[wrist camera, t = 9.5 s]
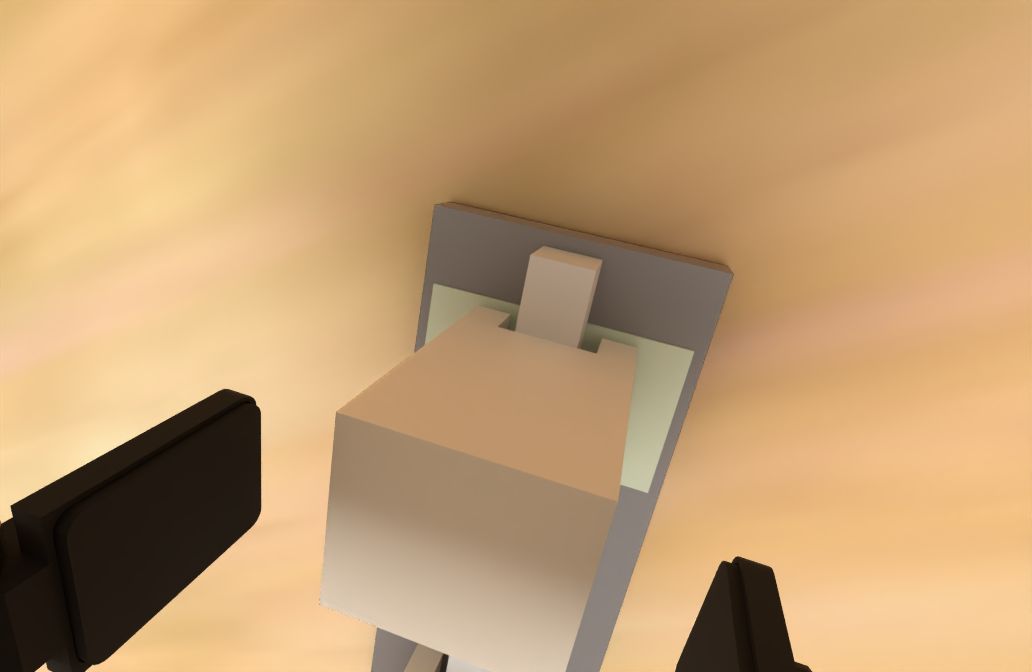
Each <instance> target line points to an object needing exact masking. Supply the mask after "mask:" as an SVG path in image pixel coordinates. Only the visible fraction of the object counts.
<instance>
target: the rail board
mask: <svg viewBox="0 0 1032 672" xmlns="http://www.w3.org/2000/svg"><path fill="white" fill-rule="evenodd" d="M732 277H733V273H732V271H731V270H730V268H729V267H728V266H726V265H721V264H717V263H713V262H708V261H704V260H700V259H695V258H691V257H687V256H682V255H678V254H674V253H669V252H665V251H661V250H656V249H652V248H648V247H643V246H639V245H635V244H630V243H626V242H622V241H617V240H613V239H609V238H604V237H600V236H596V235H591V234H587V233H583V232H578V231H574V230H570V229H565V228H561V227H557V226H552V225H548V224H544V223H539V222H535V221H531V220H527V219H522V218H518V217H514V216H509V215H505V214H501V213H496V212H492V211H488V210H483V209H479V208H475V207H470V206H466V205H462V204H457V203H453V202H447V203H441V204H435V205H434V212H433V220H432V227H431V235H430V242H429V249H428V257H427V264H426V271H425V279H424V286H423V293H422V301H421V308H420V315H419V323H418V330H417V338H416V345H415V352H416V351H418V350H419V349H420V348H422V347H423V346H424V345H426V344H427V343H428V342H430V341H431V340H432V339H434V338H435V337H436V336H438V335H439V334H440V333H441V332H443V331H444V330H445V329H447V328H448V327H449V326H451V325H452V324H453V323H455V322H456V321H457V320H459V319H460V318H461V317H463V316H464V315H465V314H467V313H468V312H469V311H471V310H472V309H473V308H475V307H476V306H477V305H479V306H483V307H486V308H490V309H494V310H498V311H502V312H505V313H509V314H510V319H509V325H508V330H511V331H515V332H519V333H522V334H526V335H530V336H534V337H537V338H541V339H545V340H548V341H552V342H556V343H559V344H563V345H567V346H570V347H574V348H578V349H581V350H585V351H589V352H593V353H596V354H597V351H598V349H599V346H600V343H601V340H602V338H603V339H607V340H611V341H614V342H618V343H622V344H626V345H629V346H633V347H637V348H638V350H637V358H636V366H635V374H634V382H633V389H632V397H631V405H630V413H629V421H628V428H627V436H626V444H625V452H624V459H623V467H622V475H621V483H620V491H619V498H618V504H617V507H616V510H615V513H614V516H613V520H612V523H611V526H610V529H609V533H608V536H607V539H606V542H605V545H604V549H603V552H602V555H601V558H600V562H599V565H598V568H597V571H596V575H595V578H594V581H593V584H592V587H591V591H590V594H589V597H588V600H587V604H586V607H585V610H584V613H583V616H582V620H581V623H580V626H579V629H578V633H577V636H576V639H575V642H574V646H573V649H572V652H571V655H570V658H569V662H568V665H567V668H566V671H565V672H599V671H600V668H601V665H602V662H603V659H604V656H605V653H606V650H607V647H608V644H609V641H610V638H611V635H612V632H613V629H614V626H615V624H616V621H617V618H618V615H619V612H620V609H621V606H622V603H623V600H624V597H625V594H626V591H627V588H628V585H629V582H630V579H631V576H632V573H633V570H634V567H635V564H636V561H637V558H638V555H639V553H640V550H641V547H642V544H643V541H644V538H645V535H646V532H647V529H648V526H649V523H650V520H651V517H652V514H653V511H654V508H655V505H656V502H657V499H658V496H659V493H660V490H661V487H662V484H663V482H664V479H665V476H666V473H667V470H668V467H669V464H670V461H671V458H672V455H673V452H674V449H675V446H676V443H677V440H678V437H679V434H680V431H681V428H682V425H683V422H684V419H685V416H686V413H687V411H688V408H689V405H690V402H691V399H692V396H693V393H694V390H695V387H696V384H697V381H698V378H699V375H700V372H701V369H702V366H703V363H704V360H705V357H706V354H707V351H708V348H709V345H710V342H711V340H712V337H713V334H714V331H715V328H716V325H717V322H718V319H719V316H720V313H721V310H722V307H723V304H724V301H725V298H726V295H727V292H728V289H729V286H730V283H731V280H732ZM415 352H414V353H415ZM371 672H491V671H488V670H485V669H483V668H480V667H478V666H475V665H473V664H470V663H468V662H465V661H462V660H460V659H457V658H455V657H452V656H450V655H447V654H444V653H442V652H439V651H437V650H434V649H432V648H429V647H427V646H424V645H421V644H419V643H416V642H414V641H411V640H409V639H406V638H403V637H401V636H398V635H396V634H393V633H391V632H388V631H386V630H383V629H380V628H378V627H377V632H376V639H375V647H374V654H373V661H372V669H371Z"/></svg>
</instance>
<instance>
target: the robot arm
mask: <svg viewBox="0 0 1032 672" xmlns="http://www.w3.org/2000/svg"><path fill="white" fill-rule="evenodd" d="M11 511H12V515H13V518H11V519H9V520H7V521H6V522H4V523H2V524H1V521H0V672H35V671H36V670H37V669H39V668H40V667H41V666H42V665H43V664H45V663H46V664H47V668H48V670H50V671H52V672H85V671H86V670H87V669H88V668H89V667H91V666H92V665H97V664H100V663H102V662H104V661H105V660H106V659H108V658H109V657H110V656H111V655H112V654H113V653H114V652H116V651H117V650H118V649H119V648H120V647H121V646H122V645H123V644H124V643H125V642H127V641H128V640H129V639H130V638H131V637H132V636H133V635H134V634H135V633H136V632H137V631H139V630H140V629H141V628H142V627H143V626H144V625H145V624H146V623H147V622H148V621H149V620H151V619H152V618H153V617H154V616H155V615H156V614H157V613H158V612H159V611H160V610H162V609H163V608H164V607H165V606H166V605H167V604H168V603H169V602H170V601H171V600H172V599H174V598H175V597H176V596H177V595H178V594H179V593H180V592H181V591H182V590H183V589H184V588H186V587H187V586H188V585H189V584H190V583H191V582H192V581H193V580H194V579H195V578H197V577H198V576H199V575H200V574H201V573H202V572H203V571H204V570H205V569H206V568H207V567H209V566H210V565H211V564H212V563H213V562H214V561H215V560H216V559H217V558H218V557H219V556H221V555H222V554H223V553H224V552H225V551H226V550H227V549H228V548H229V547H230V546H232V545H233V544H234V543H235V542H236V541H237V540H238V539H239V538H240V537H241V536H242V535H244V534H245V533H246V532H247V531H248V530H249V529H250V528H251V527H252V526H253V525H254V524H255V522H256V521H257V519H258V517H259V515H260V512H261V411H260V409H259V407H257V406H256V401H255V400H254V398H252V397H251V396H248V395H245V394H242V393H239V392H236V391H233V390H230V389H223V390H220V391H218V392H216V393H215V394H213V395H211V396H209V397H207V398H206V399H204V400H202V401H200V402H198V403H196V404H195V405H193V406H191V407H189V408H187V409H186V410H184V411H182V412H180V413H178V414H176V415H175V416H173V417H171V418H169V419H167V420H166V421H164V422H162V423H160V424H158V425H156V426H155V427H153V428H151V429H149V430H147V431H146V432H144V433H142V434H140V435H138V436H136V437H135V438H133V439H131V440H129V441H127V442H126V443H124V444H122V445H120V446H118V447H116V448H115V449H113V450H111V451H109V452H107V453H106V454H104V455H102V456H100V457H98V458H96V459H95V460H93V461H91V462H89V463H87V464H86V465H84V466H82V467H80V468H78V469H76V470H75V471H73V472H71V473H69V474H67V475H66V476H64V477H62V478H60V479H58V480H56V481H55V482H53V483H51V484H49V485H47V486H45V487H44V488H42V489H40V490H38V491H36V492H35V493H33V494H31V495H29V496H27V497H25V498H24V499H22V500H20V501H18V502H16V503H15V504H13V505H11ZM675 672H812V671H811V670H810V668H809V667H808V666H806V665H803V664H800V663H797V662H795V661H794V657H793V653H792V649H791V644H790V640H789V636H788V631H787V627H786V623H785V618H784V614H783V610H782V606H781V601H780V597H779V593H778V588H777V584H776V580H775V575H774V572H773V569H772V568H771V567H769V566H766V565H763V564H760V563H757V562H754V561H751V560H748V559H745V558H742V557H735V558H734V559H733V561H732V563H729V562H726V561H722V562H721V564H720V565H719V568H718V570H717V572H716V575H715V577H714V579H713V582H712V584H711V586H710V589H709V591H708V593H707V596H706V598H705V600H704V603H703V605H702V607H701V610H700V612H699V614H698V617H697V619H696V621H695V624H694V626H693V628H692V631H691V633H690V635H689V638H688V640H687V642H686V645H685V647H684V649H683V652H682V654H681V656H680V659H679V661H678V664H677V666H676V670H675Z"/></svg>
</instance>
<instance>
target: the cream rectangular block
mask: <svg viewBox="0 0 1032 672" xmlns="http://www.w3.org/2000/svg"><path fill="white" fill-rule="evenodd" d="M509 319H510V314H509V313H505V312H502V311H498V310H494V309H490V308H486V307H483V306H479V305H477V306H476V307H475V308H473V309H472V310H471V311H469V312H468V313H467V314H465V315H464V316H463V317H461V318H460V319H459V320H457V321H456V322H455V323H453V324H452V325H451V326H449V327H448V328H447V329H445V330H444V331H443V332H441V333H440V334H439V335H438V336H436V337H435V338H434V339H432V340H431V341H430V342H428V343H427V344H426V345H424V346H423V347H422V348H420V349H419V350H418V351H416V352H415V353H414V354H412V355H411V356H410V357H408V358H407V359H406V360H404V361H403V362H402V363H400V364H399V365H398V366H396V367H395V368H394V369H392V370H391V371H390V372H388V373H387V374H386V375H384V376H383V377H382V378H380V379H379V380H378V381H377V382H375V383H374V384H373V385H371V386H370V387H369V388H367V389H366V390H365V391H363V392H362V393H361V394H359V395H358V396H357V397H355V398H354V399H353V400H351V401H350V402H349V403H347V404H346V405H345V406H343V407H342V408H341V409H339V410H338V411H337V412H336V418H335V430H334V441H333V453H332V465H331V476H330V488H329V499H328V511H327V522H326V534H325V545H324V557H323V569H322V580H321V592H320V603H319V605H321V606H324V607H327V608H329V609H332V610H334V611H337V612H339V613H342V614H345V615H347V616H350V617H352V618H355V619H357V620H360V621H362V622H365V623H368V624H370V625H373V626H375V627H378V628H380V629H383V630H386V631H388V632H391V633H393V634H396V635H398V636H401V637H403V638H406V639H409V640H411V641H414V642H416V643H419V644H421V645H424V646H427V647H429V648H432V649H434V650H437V651H439V652H442V653H444V654H447V655H450V656H452V657H455V658H457V659H460V660H462V661H465V662H468V663H470V664H473V665H475V666H478V667H480V668H483V669H485V670H488V671H491V672H565V671H566V668H567V665H568V662H569V658H570V655H571V652H572V649H573V646H574V642H575V639H576V636H577V633H578V629H579V626H580V623H581V620H582V616H583V613H584V610H585V607H586V604H587V600H588V597H589V594H590V591H591V587H592V584H593V581H594V578H595V575H596V571H597V568H598V565H599V562H600V558H601V555H602V552H603V549H604V545H605V542H606V539H607V536H608V533H609V529H610V526H611V523H612V520H613V516H614V513H615V510H616V507H617V504H618V498H619V491H620V483H621V475H622V467H623V459H624V452H625V444H626V436H627V428H628V421H629V413H630V405H631V397H632V389H633V382H634V374H635V366H636V358H637V350H638V348H637V347H633V346H629V345H626V344H622V343H618V342H614V341H611V340H607V339H603V338H602V340H601V343H600V346H599V349H598V351H597V354H596V353H593V352H589V351H585V350H581V349H578V348H574V347H570V346H567V345H563V344H559V343H556V342H552V341H548V340H545V339H541V338H537V337H534V336H530V335H526V334H522V333H519V332H515V331H511V330H508V325H509Z"/></svg>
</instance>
